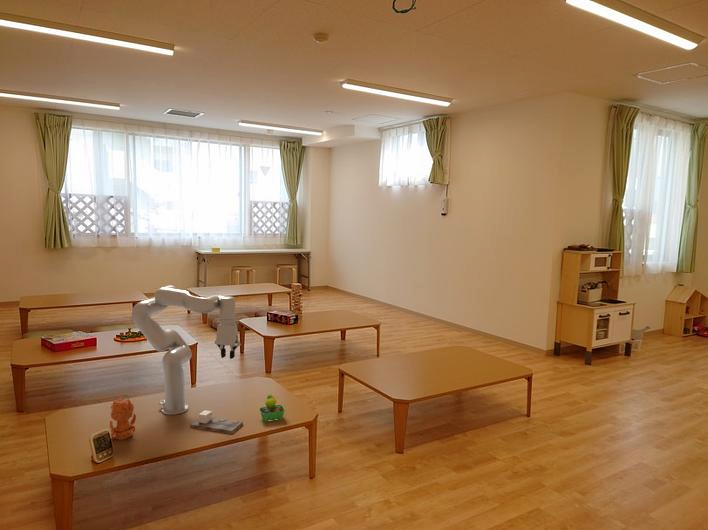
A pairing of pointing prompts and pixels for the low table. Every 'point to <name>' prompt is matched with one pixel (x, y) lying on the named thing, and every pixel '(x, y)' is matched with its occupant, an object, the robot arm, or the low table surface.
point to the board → (218, 425)
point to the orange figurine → (122, 419)
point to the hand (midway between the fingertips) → (227, 357)
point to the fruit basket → (271, 409)
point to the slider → (205, 416)
